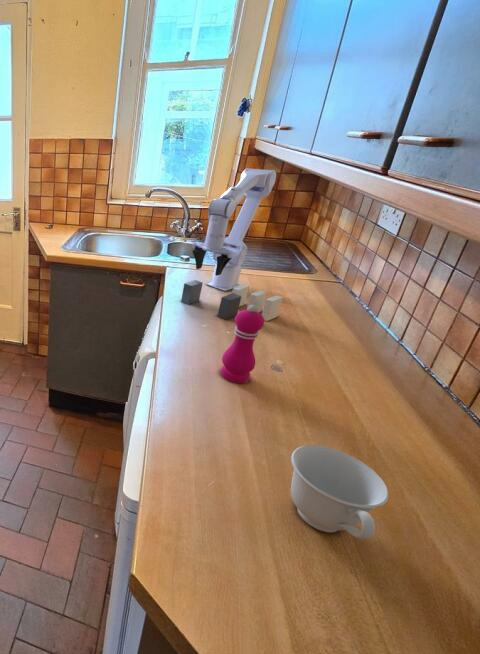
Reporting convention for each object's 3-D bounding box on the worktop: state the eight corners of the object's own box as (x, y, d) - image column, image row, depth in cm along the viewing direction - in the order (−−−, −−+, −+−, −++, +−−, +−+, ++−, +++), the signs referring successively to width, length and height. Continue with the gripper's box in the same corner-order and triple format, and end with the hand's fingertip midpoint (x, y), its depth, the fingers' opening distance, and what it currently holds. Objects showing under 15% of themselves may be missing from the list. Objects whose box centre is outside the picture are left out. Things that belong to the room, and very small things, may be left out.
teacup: (303, 563, 60) (325, 518, 56) (263, 482, 74) (278, 440, 69) (396, 577, 58) (426, 531, 54) (338, 491, 71) (358, 449, 67)
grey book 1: (191, 297, 147) (195, 279, 144) (199, 300, 145) (202, 282, 142) (180, 301, 144) (184, 283, 141) (188, 304, 142) (191, 286, 139)
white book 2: (271, 314, 134) (276, 295, 131) (277, 316, 132) (283, 297, 129) (260, 318, 131) (266, 299, 128) (266, 321, 130) (272, 301, 127)
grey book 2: (228, 312, 136) (232, 292, 133) (236, 315, 134) (241, 296, 131) (217, 316, 133) (221, 296, 130) (225, 319, 131) (230, 300, 128)
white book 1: (255, 308, 138) (261, 289, 135) (261, 311, 136) (267, 291, 133) (245, 313, 135) (250, 293, 132) (251, 315, 134) (256, 295, 131)
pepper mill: (253, 386, 99) (275, 313, 91) (220, 381, 101) (239, 309, 93) (247, 370, 105) (267, 300, 97) (216, 366, 107) (233, 297, 99)
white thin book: (238, 302, 142) (243, 284, 139) (244, 304, 141) (249, 286, 138) (228, 306, 140) (233, 287, 137) (234, 308, 138) (238, 289, 135)
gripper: (189, 231, 143) (183, 267, 148) (228, 241, 131) (220, 280, 137) (202, 228, 146) (195, 264, 152) (241, 237, 134) (232, 276, 140)
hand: (208, 271), depth 145 cm, fingers open, 7 cm apart
